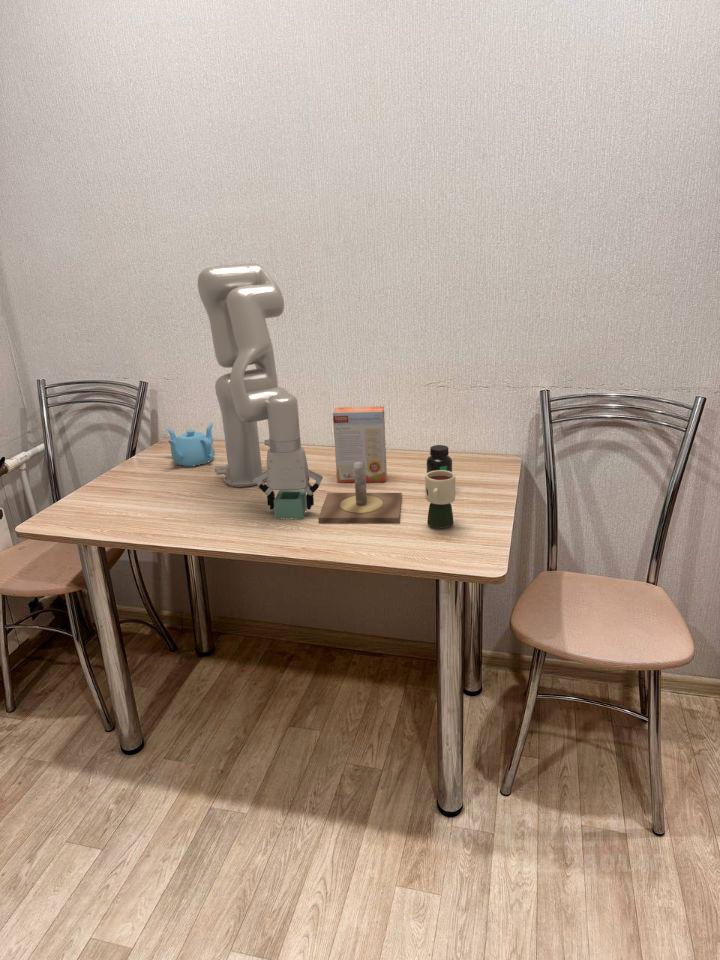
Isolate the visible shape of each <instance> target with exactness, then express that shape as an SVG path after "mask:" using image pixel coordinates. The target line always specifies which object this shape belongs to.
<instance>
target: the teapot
mask: <svg viewBox="0 0 720 960" xmlns="http://www.w3.org/2000/svg"><path fill="white" fill-rule="evenodd" d="M213 425H214V422H211V423H209V425H207V428H206V432H205V434H204V433H203V432H200V431H195V429H187V430H186V431H185V432H184V433H181V434H180V435H178V437H177V435H176V433H175V431H174V430H173V429H171V428H168V427H167V428H165V430H166V431H167V432H168V433H169V436H170V440H169V439H168V440H166V441H167V442H168V443H169V444H170V452H171V453H170V454H171V457H172V460H173V461H174V462H175V464H177V465H179V466H181V465H183V466H182V467H194V466H193V465H199V466H201V465H200V464H203V463H206V462H208V461H210V460H211V461H213V459H214V458H215V454H216V453H215V448H214V446H213V444H214V439H213V438H214V437H213V434H212V432H213V431H212V428H213ZM211 461H210V462H211ZM208 463H209V462H208ZM206 464H207V463H206ZM203 465H204V464H203Z"/></svg>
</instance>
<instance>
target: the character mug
mask: <svg viewBox="0 0 720 960" xmlns="http://www.w3.org/2000/svg"><path fill="white" fill-rule="evenodd" d="M424 477H425V478H424V481H425V483H424V486H425V492H424V494H425V496H424V497H425V500H426V501H427V502H429V505H428V506H429V507H428V512H427V522H426V523H427V525H428V526H429V527H432V528H439V529H440V528H449V527H453V525H454V514H453V508H452V507H453V506H452V503H454V502H455V500H456V474H455V473H454V472H453V471H452V472H450V471H446V470H436V471H431V472H428V473H427V472H426V473H425V475H424Z"/></svg>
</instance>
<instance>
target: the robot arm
mask: <svg viewBox="0 0 720 960" xmlns="http://www.w3.org/2000/svg"><path fill="white" fill-rule="evenodd" d="M197 277H198V278H197V290H198V294H199V297H200V301H201V303H202V305H203V306H204V310H205V312H206V314H207V316H208V320H209V324H210V326H209V327H210V330H211V331H210V332H211V337H212V343H213V351H214V354H215V358H216V361H217V364H218V366H220V367H222V368H227V369H229V368H231V371H230V372H229V373H225V374H223V375H221V376H219V378H217V379H216V382H215V385H214V389H215V394H216V395H215V396H216V398H217V401H218V405H219V409H220V413H221V414H220V415H221V420H222V425H223V436H224V442H225V450H226V451H225V452H226V460H227V464H225V465H214V472H215V473H216V475H225V476H224V478H223V481H224V484H226V485H227V484H228V485H227V486H231V487H234V486H235V488H237V487H238V488H246V487H253V486H258V489H260V490H261V491H262V492H263V493H264V495H265V496H266V501H267V506H269V509H270V510H271V511H272V510H274V499H275V497H276V495H275V492H274V491H279V490H305V491H306V500H307V510H308V511H309V510H311V509H312V507H313V506H315V505H314V503H315V500H314V494H315V492H316V491H317V490H318V489H319V487H320V486H321V483H322V482H323V481H322V480H323V478H324V477H323V476H322V475H320V474H318V473H316V472H314V471H312V470H310V469H309V466H308V459H307V455H306V452H305V449H304V447H303V446H302V442H301V429H300V419H299V418H300V417H299V407H298V405H299V404H298V399H297V397H296V395H293V394H291V393H289V391H288V390H286V389H285V388H284V387H280V386H279V383H278V382H279V381H278V375H277V374H278V373H277V369H276V367H277V366H276V361H275V354H274V348H273V342H272V340H271V336H270V335H271V334H270V333H269V328H268V325H267V320H266V319H271V318H278V317H280V316H281V315H283V313H284V310H285V300H284V296H283V293H282V291H281V289H280V287H279V286H278V284H277V282H276V281H275V280H274V279H273V277H272V276H271V275H270V274H269V272H267V270H266V269H265V268H264V267H263V266H262V265H260V264H259V263H241V264H228V265H227V264H226V265H224V264H223V265H217V266H211V267H207V268H205V269H203V270H202V271H201V272H199V274H198V276H197ZM252 365H254V366H255V369H253V368H252V369H247V367H248V366H252ZM265 420H267V424H268V435H269V438H268V439H265V440H264V443H263V444H264V446H267V447H269V449H267V453H266V454H267V456H266V470H264V469H263V468H262V458H261V448H260V447H261V446H260V438H259V430H258V429H259V428H258V427H259V426H258V422H261V421H265ZM310 478H311V479H312V480H315V483H314V484H311V483H310ZM265 482H266V483H267V484H266V483H265Z"/></svg>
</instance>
